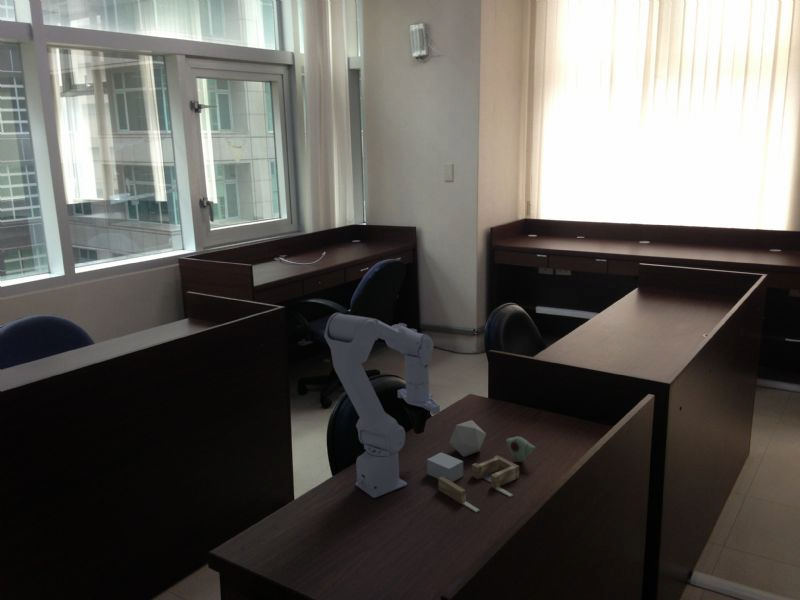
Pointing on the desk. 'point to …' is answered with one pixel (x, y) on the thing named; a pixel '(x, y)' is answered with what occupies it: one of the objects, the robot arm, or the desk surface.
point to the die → (467, 438)
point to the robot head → (519, 448)
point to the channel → (491, 470)
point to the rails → (477, 508)
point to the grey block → (445, 467)
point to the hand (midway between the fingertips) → (419, 432)
